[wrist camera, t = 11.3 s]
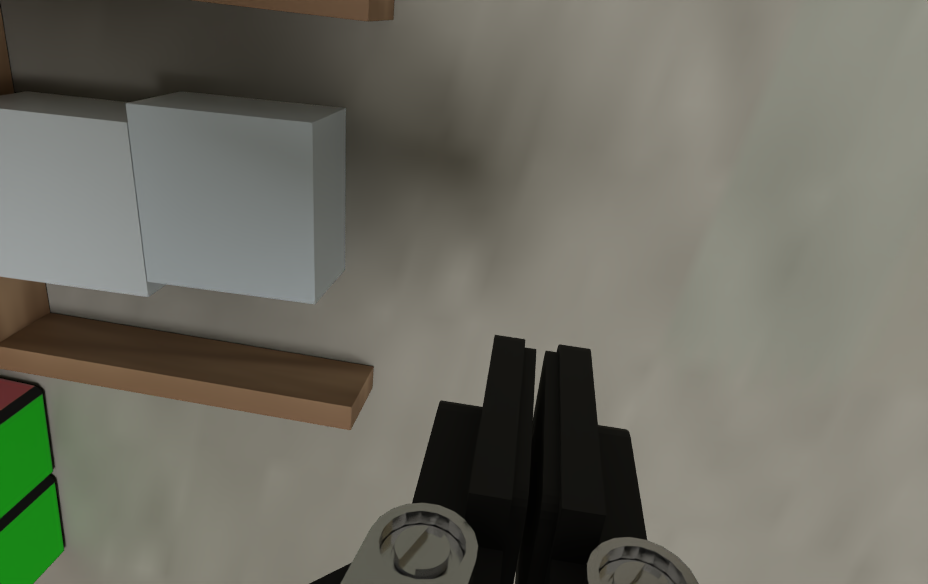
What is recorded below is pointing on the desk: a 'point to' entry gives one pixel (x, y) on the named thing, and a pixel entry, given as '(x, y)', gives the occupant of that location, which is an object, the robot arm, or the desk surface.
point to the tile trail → (240, 193)
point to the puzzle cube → (26, 487)
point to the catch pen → (174, 355)
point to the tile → (69, 194)
